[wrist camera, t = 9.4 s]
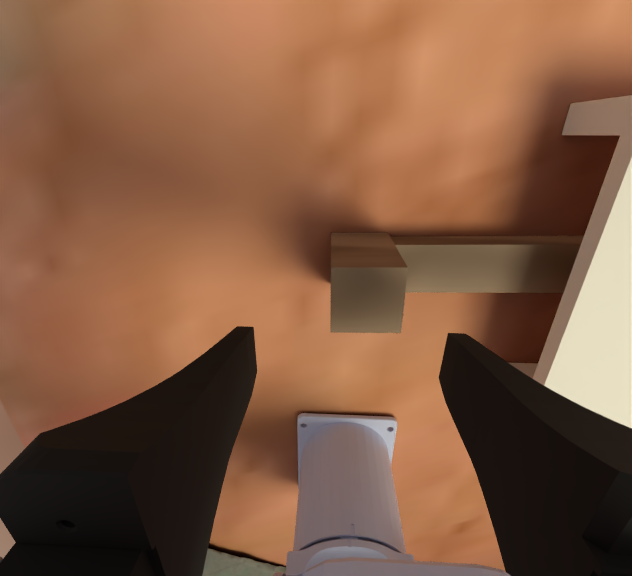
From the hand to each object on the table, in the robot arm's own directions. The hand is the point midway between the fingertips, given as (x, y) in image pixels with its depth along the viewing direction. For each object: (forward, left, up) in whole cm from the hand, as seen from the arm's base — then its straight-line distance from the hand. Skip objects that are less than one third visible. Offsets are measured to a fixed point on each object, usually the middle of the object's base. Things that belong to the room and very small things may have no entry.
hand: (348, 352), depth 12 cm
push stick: (0, -8, -10) cm, 13 cm away
